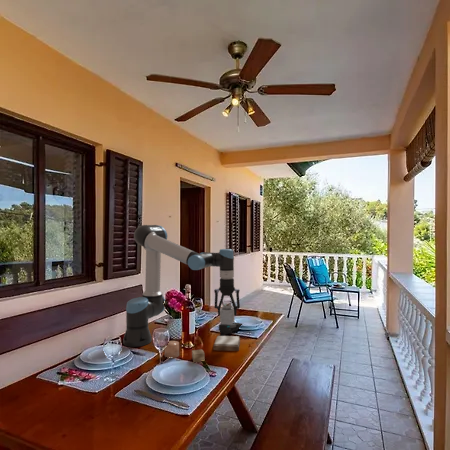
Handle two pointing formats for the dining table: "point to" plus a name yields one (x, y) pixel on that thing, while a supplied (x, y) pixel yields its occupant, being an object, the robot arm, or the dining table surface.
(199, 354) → the beech block
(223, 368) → the dining table surface
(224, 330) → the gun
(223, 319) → the housing
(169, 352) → the brown rounded block
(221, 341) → the stand
